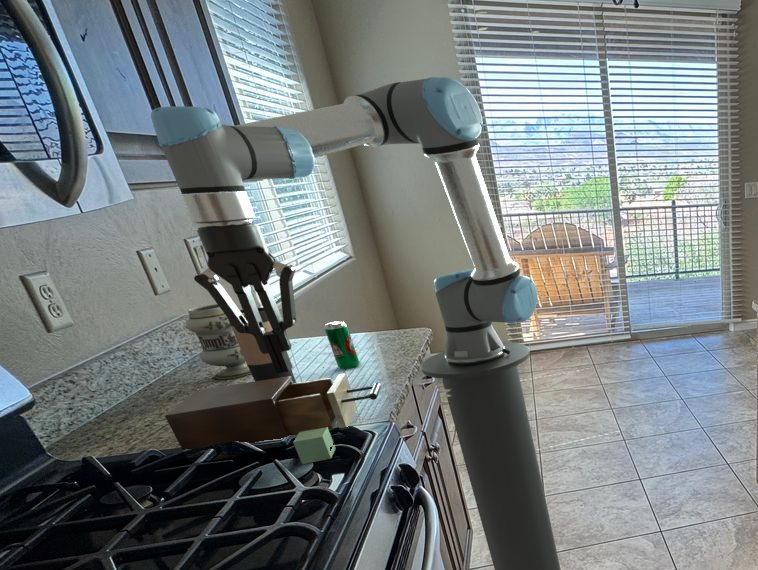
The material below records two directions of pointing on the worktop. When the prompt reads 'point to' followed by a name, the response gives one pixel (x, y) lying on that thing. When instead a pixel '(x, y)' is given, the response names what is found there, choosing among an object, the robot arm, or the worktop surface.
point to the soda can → (341, 345)
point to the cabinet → (230, 415)
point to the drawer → (320, 404)
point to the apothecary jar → (217, 341)
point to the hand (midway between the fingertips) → (284, 370)
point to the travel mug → (258, 353)
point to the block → (314, 445)
